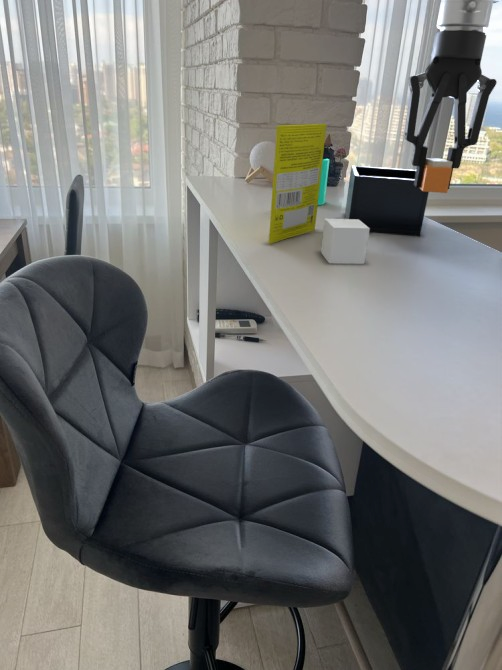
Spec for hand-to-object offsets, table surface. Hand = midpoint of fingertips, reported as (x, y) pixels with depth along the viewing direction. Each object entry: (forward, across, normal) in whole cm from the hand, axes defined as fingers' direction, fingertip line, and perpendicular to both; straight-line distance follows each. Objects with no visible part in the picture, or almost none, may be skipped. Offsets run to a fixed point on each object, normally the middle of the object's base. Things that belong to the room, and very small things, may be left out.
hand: (431, 186), depth 88 cm
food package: (+11, -23, +2) cm, 26 cm away
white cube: (+11, -14, -9) cm, 20 cm away
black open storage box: (+11, -5, +18) cm, 22 cm away
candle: (+11, -20, +36) cm, 43 cm away
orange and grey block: (0, 0, 0) cm, 0 cm away
